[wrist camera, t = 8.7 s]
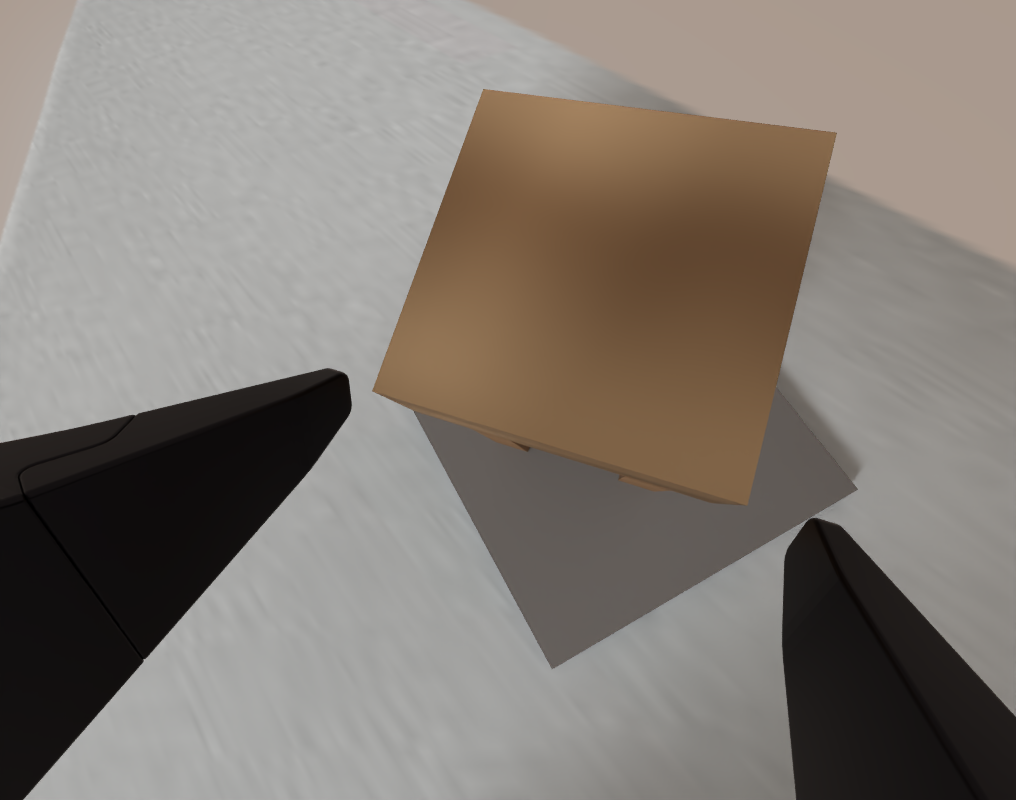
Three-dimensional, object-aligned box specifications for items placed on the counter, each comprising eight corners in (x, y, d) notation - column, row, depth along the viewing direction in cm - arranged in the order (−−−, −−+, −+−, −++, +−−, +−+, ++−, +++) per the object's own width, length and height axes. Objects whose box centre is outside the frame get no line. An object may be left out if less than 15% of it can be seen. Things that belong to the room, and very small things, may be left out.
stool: (658, 499, 15) (747, 505, 6) (488, 445, 16) (372, 391, 8) (703, 330, 16) (836, 133, 7) (538, 293, 17) (483, 89, 9)
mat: (847, 489, 15) (858, 489, 14) (553, 662, 15) (552, 669, 15) (647, 237, 18) (649, 228, 17) (406, 390, 18) (400, 386, 18)
